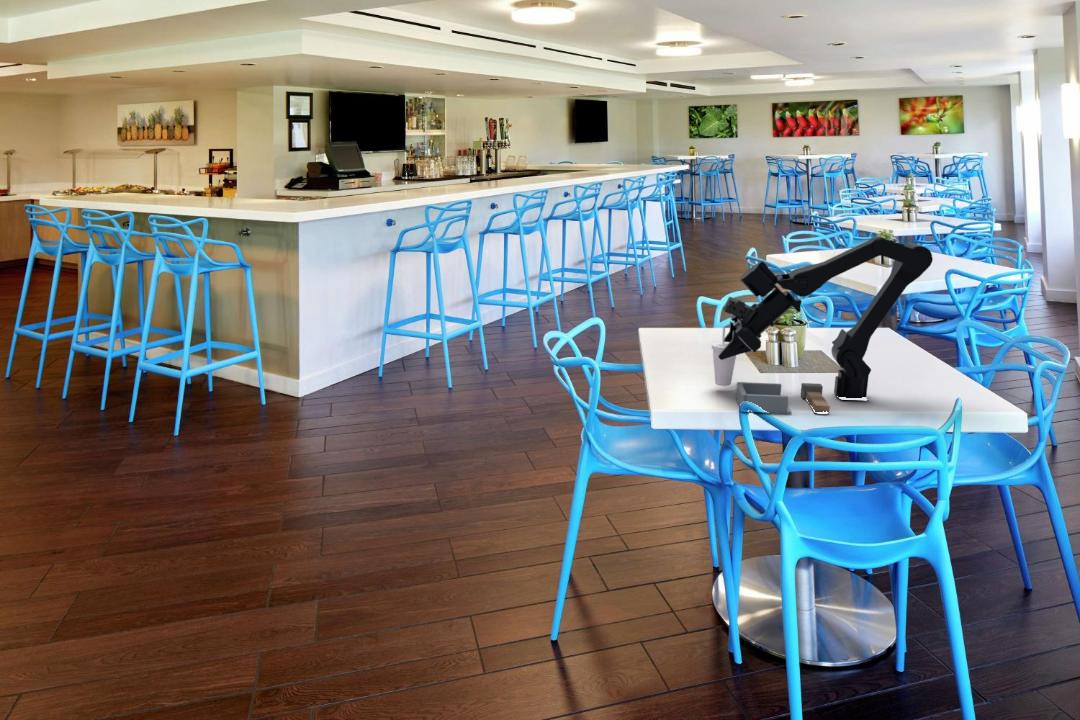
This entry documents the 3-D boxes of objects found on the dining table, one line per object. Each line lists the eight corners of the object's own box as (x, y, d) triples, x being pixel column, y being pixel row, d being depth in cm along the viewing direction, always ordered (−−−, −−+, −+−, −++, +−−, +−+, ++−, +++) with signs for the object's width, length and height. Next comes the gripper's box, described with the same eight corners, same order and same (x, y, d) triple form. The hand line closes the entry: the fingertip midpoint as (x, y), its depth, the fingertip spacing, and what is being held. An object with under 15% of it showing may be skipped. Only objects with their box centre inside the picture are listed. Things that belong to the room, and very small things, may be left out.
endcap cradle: (783, 400, 199) (785, 383, 198) (791, 414, 189) (792, 397, 188) (736, 398, 200) (737, 382, 199) (741, 412, 190) (742, 395, 189)
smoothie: (717, 378, 210) (720, 323, 206) (741, 382, 206) (744, 326, 202) (704, 384, 205) (707, 327, 201) (729, 389, 201) (732, 331, 197)
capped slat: (800, 395, 203) (801, 383, 202) (819, 396, 202) (820, 383, 201) (811, 414, 189) (813, 400, 189) (832, 415, 189) (833, 401, 188)
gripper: (742, 279, 207) (694, 322, 212) (749, 293, 190) (696, 340, 194) (773, 312, 208) (725, 354, 213) (783, 328, 190) (730, 374, 195)
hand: (718, 354), depth 204 cm, fingers closed on smoothie, 6 cm apart
